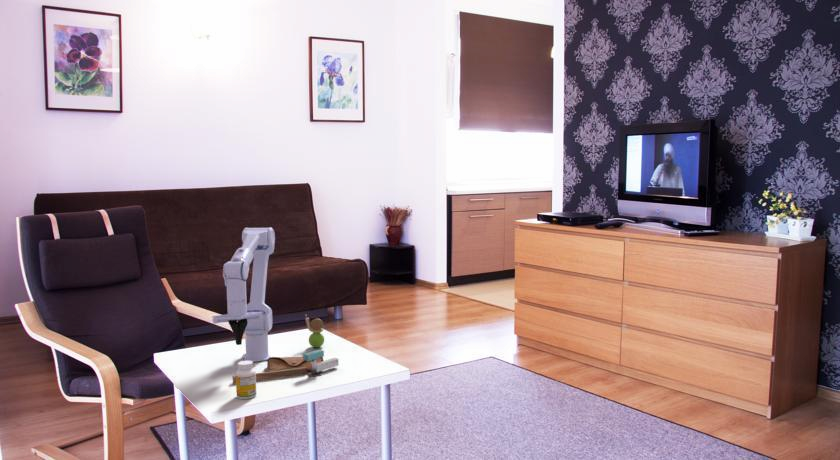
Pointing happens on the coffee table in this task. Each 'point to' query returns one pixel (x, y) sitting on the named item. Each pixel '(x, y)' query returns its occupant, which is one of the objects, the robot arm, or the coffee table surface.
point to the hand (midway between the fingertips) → (238, 344)
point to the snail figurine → (315, 332)
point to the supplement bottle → (245, 380)
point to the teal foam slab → (321, 365)
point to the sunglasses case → (289, 363)
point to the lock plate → (313, 374)
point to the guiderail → (278, 374)
